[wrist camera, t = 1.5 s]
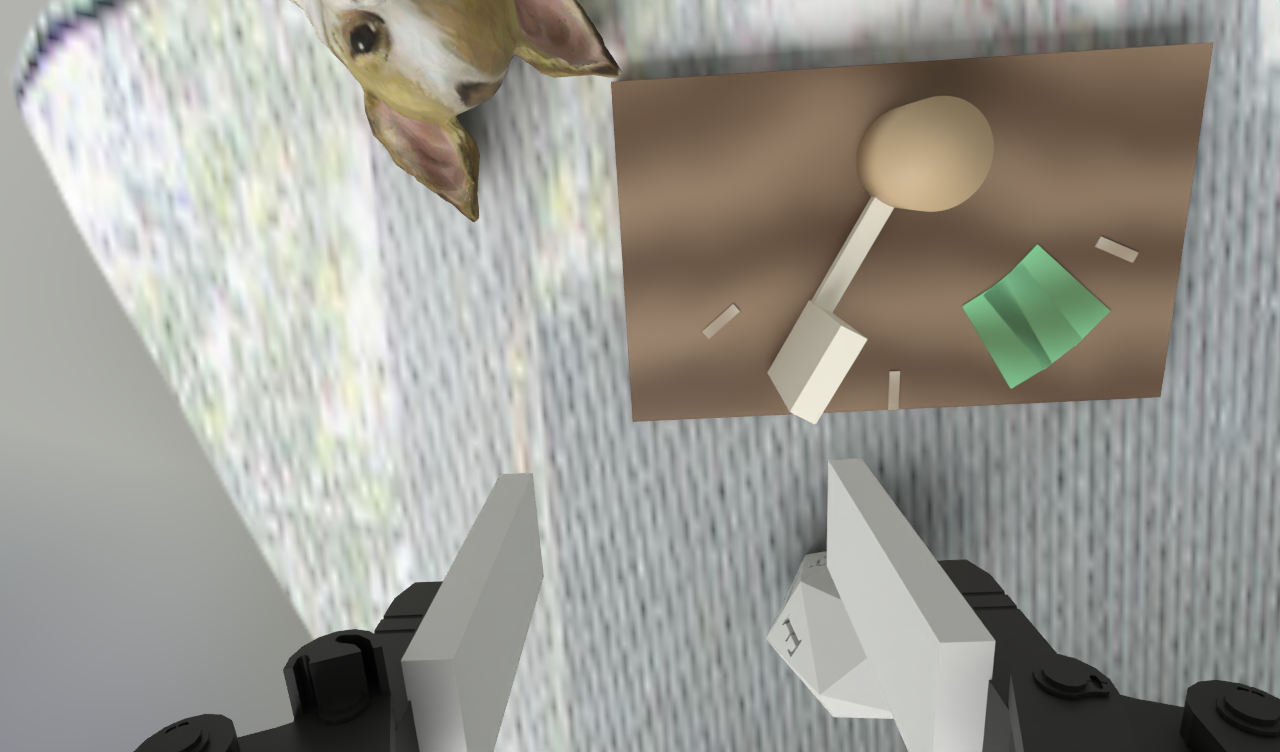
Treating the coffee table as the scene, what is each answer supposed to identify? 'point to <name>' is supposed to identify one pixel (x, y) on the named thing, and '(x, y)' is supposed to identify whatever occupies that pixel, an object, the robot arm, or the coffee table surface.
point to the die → (826, 645)
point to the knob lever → (894, 178)
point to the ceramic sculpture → (449, 70)
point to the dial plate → (909, 232)
